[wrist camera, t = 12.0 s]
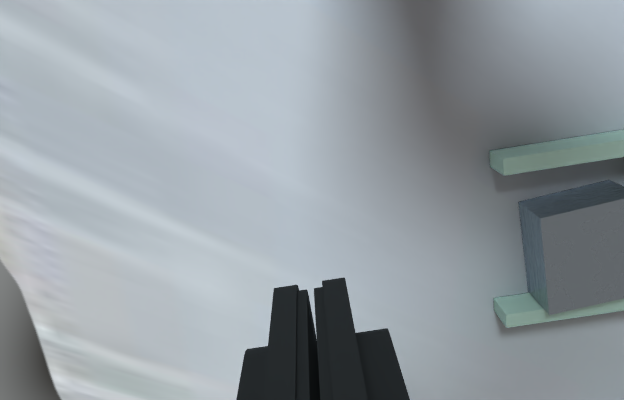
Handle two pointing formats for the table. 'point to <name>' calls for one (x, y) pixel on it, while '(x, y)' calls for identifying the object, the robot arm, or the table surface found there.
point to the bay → (539, 158)
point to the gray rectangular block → (574, 246)
